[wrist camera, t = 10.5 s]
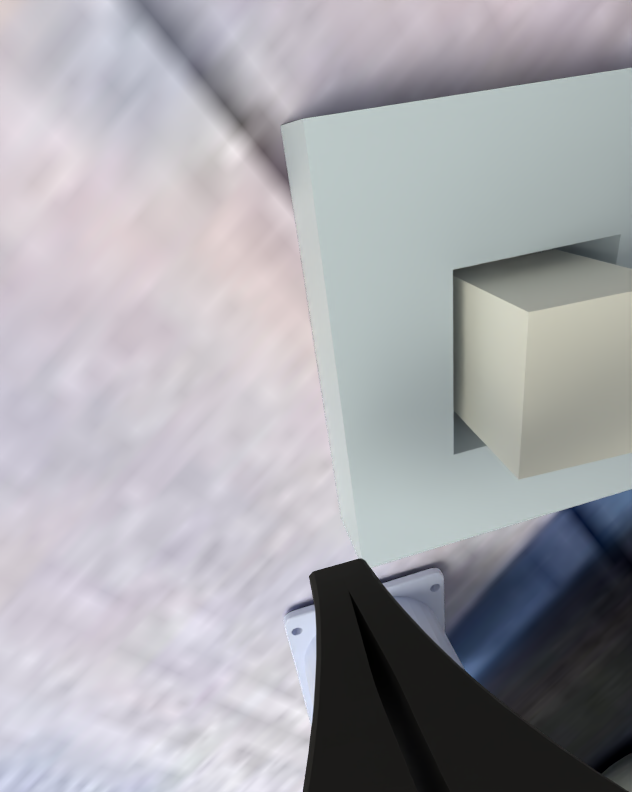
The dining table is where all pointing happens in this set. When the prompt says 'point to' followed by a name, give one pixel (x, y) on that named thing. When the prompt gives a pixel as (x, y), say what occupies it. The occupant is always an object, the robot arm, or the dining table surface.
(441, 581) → the robot arm
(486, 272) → the cream rectangular block
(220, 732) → the dining table surface
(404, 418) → the socket plate
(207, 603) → the dining table surface
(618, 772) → the serving bowl
